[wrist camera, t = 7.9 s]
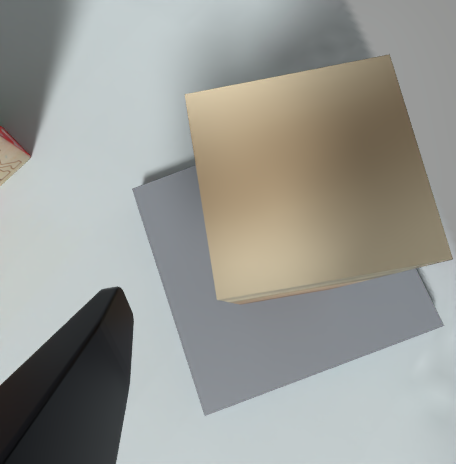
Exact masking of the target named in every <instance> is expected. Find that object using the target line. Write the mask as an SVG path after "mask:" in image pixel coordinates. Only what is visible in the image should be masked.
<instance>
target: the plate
mask: <svg viewBox="0 0 456 464" xmlns="http://www.w3.org/2000/svg"><path fill="white" fill-rule="evenodd" d="M132 190H133V193H134V196H135V199H136V202H137V206H138V209H139V212H140V215H141V218H142V221H143V224H144V227H145V231H146V234H147V237H148V240H149V243H150V246H151V249H152V253H153V256H154V259H155V262H156V265H157V268H158V271H159V274H160V278H161V281H162V284H163V287H164V290H165V293H166V296H167V299H168V303H169V306H170V309H171V312H172V315H173V318H174V321H175V324H176V328H177V331H178V334H179V337H180V340H181V343H182V346H183V349H184V353H185V356H186V359H187V362H188V365H189V368H190V371H191V374H192V378H193V381H194V384H195V387H196V390H197V393H198V396H199V399H200V403H201V406H202V409H203V412H204V415H205V416H206V415H208V414H211V413H214V412H216V411H219V410H222V409H224V408H227V407H230V406H232V405H235V404H238V403H240V402H243V401H246V400H248V399H251V398H254V397H256V396H259V395H262V394H264V393H267V392H270V391H272V390H275V389H277V388H280V387H283V386H285V385H288V384H291V383H293V382H296V381H299V380H301V379H304V378H307V377H309V376H312V375H315V374H317V373H320V372H323V371H325V370H328V369H331V368H333V367H336V366H339V365H341V364H344V363H346V362H349V361H352V360H354V359H357V358H360V357H362V356H365V355H368V354H370V353H373V352H376V351H378V350H381V349H384V348H386V347H389V346H392V345H394V344H397V343H400V342H402V341H405V340H408V339H410V338H413V337H415V336H418V335H421V334H423V333H426V332H429V331H431V330H434V329H437V328H439V327H442V326H444V324H443V322H442V320H441V318H440V316H439V314H438V312H437V310H436V308H435V306H434V304H433V302H432V300H431V298H430V296H429V294H428V292H427V290H426V288H425V286H424V284H423V282H422V280H421V278H420V276H419V274H418V272H417V269H416V268H415V269H411V270H407V271H403V272H399V273H395V274H391V275H387V276H382V277H378V278H374V279H370V280H366V281H362V282H358V283H354V284H350V285H346V286H342V287H338V288H333V289H329V290H323V291H317V292H311V293H305V294H300V295H294V296H288V297H282V298H276V299H270V300H265V301H259V302H253V303H247V304H241V305H240V304H235V303H230V302H225V301H220V300H217V297H216V291H215V285H214V278H213V272H212V265H211V259H210V253H209V246H208V240H207V233H206V227H205V221H204V214H203V208H202V202H201V195H200V189H199V182H198V176H197V170H196V165H195V166H192V167H189V168H187V169H184V170H181V171H179V172H176V173H173V174H171V175H168V176H165V177H163V178H160V179H157V180H155V181H152V182H149V183H147V184H144V185H141V186H139V187H136V188H133V189H132Z"/></svg>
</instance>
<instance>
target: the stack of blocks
mask: <svg viewBox="0 0 456 464" xmlns="http://www.w3.org/2000/svg"><path fill="white" fill-rule="evenodd" d="M30 158H31V156H30V155H29V154H28V153H27V152H26V151H25V150H24V149H23V148H22V147H21V146H20V145H19V144H18V143H17V141H16V140H15V139H14V138H13V137H12V136H11V135H10V134H9V133H8V132H7V131H6V130H5V129H4V128H3V127H1V126H0V186H1V185H2V184H3V183H4V182H5V181H6V180H8V179H9V178H10V177H11V176H12V175H13V174H14V173H15V172H16V171H17V170H18V169H20V168H21V167H22V166H23V165H24V164H25V163H26V162H27V161H28V160H29V159H30Z"/></svg>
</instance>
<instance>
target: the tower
mask: <svg viewBox="0 0 456 464" xmlns="http://www.w3.org/2000/svg"><path fill="white" fill-rule="evenodd" d="M185 99H186V106H187V112H188V119H189V125H190V131H191V138H192V144H193V150H194V157H195V163H196V170H197V176H198V182H199V189H200V195H201V202H202V208H203V214H204V221H205V227H206V233H207V240H208V246H209V253H210V259H211V265H212V272H213V278H214V285H215V291H216V297H217V300H220V301H225V302H230V303H235V304H240V305H241V304H247V303H253V302H259V301H265V300H270V299H276V298H282V297H288V296H294V295H300V294H305V293H311V292H317V291H323V290H329V289H333V288H338V287H342V286H346V285H350V284H354V283H358V282H362V281H366V280H370V279H374V278H378V277H382V276H387V275H391V274H395V273H399V272H403V271H407V270H411V269H415V268H419V267H423V266H427V265H432V264H436V263H440V262H444V261H448V260H452V259H453V258H452V255H451V252H450V248H449V245H448V242H447V239H446V235H445V232H444V229H443V226H442V222H441V219H440V216H439V213H438V209H437V206H436V203H435V200H434V197H433V193H432V190H431V187H430V184H429V180H428V177H427V174H426V171H425V167H424V164H423V161H422V158H421V154H420V151H419V148H418V145H417V142H416V138H415V135H414V132H413V129H412V125H411V122H410V119H409V116H408V112H407V109H406V106H405V103H404V99H403V96H402V93H401V90H400V86H399V83H398V80H397V77H396V74H395V70H394V67H393V64H392V61H391V57H390V55H384V56H379V57H374V58H369V59H364V60H358V61H353V62H348V63H343V64H338V65H333V66H328V67H323V68H317V69H312V70H307V71H302V72H297V73H292V74H287V75H282V76H276V77H271V78H266V79H261V80H256V81H251V82H246V83H241V84H235V85H230V86H225V87H220V88H215V89H210V90H205V91H200V92H194V93H189V94H185Z"/></svg>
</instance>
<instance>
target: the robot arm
mask: <svg viewBox="0 0 456 464" xmlns="http://www.w3.org/2000/svg"><path fill="white" fill-rule="evenodd" d="M133 325H134V319H133V313H132V310H131V308H130V306H129V303H128V301H127V299H126V296H125V294H124V292H123V290H122V289H121V288H120V287H111V288H106V289H102V290H101V291H99V292H98V293H97V294H96V295H95V296H94V297H93V298H92V299H91V300H90V301H89V302H88V303H87V304H86V305H85V306H83V307H82V308H81V309H80V310H79V311H78V312H77V313H76V314H75V315H74V316H73V317H72V318H71V319H70V320H69V321H68V322H67V323H66V324H65V325H63V326H62V327H61V328H60V329H59V330H58V331H57V332H56V333H55V334H54V335H53V336H52V337H51V338H50V339H49V340H48V341H47V342H46V343H44V344H43V345H42V346H41V347H40V348H39V349H38V350H37V351H36V352H35V353H34V354H33V355H32V356H31V357H30V358H29V359H28V360H27V361H25V362H24V363H23V364H22V365H21V366H20V367H19V368H18V369H17V370H16V371H15V372H14V373H13V374H12V375H11V376H10V377H9V378H8V379H6V380H5V381H4V382H3V383H2V384H1V385H0V464H116V460H117V454H118V449H119V443H120V437H121V432H122V426H123V420H124V415H125V409H126V403H127V398H128V392H129V385H130V374H131V358H132V341H133Z"/></svg>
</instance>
